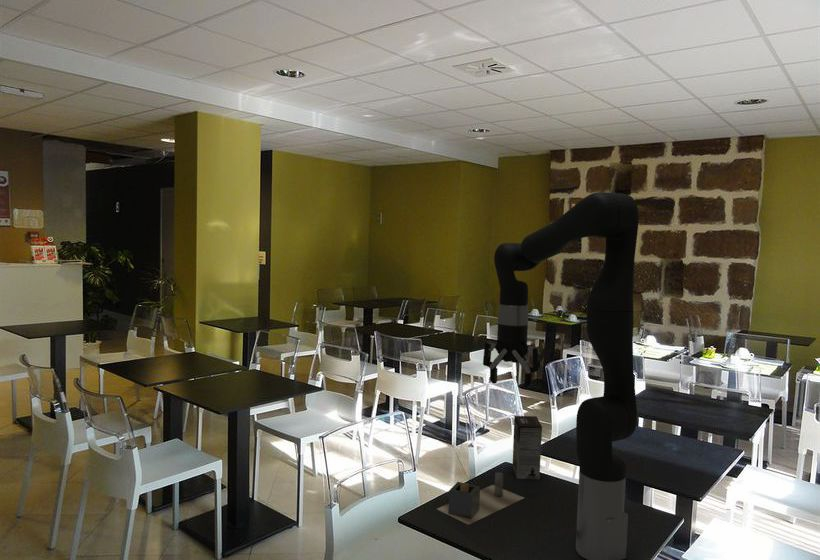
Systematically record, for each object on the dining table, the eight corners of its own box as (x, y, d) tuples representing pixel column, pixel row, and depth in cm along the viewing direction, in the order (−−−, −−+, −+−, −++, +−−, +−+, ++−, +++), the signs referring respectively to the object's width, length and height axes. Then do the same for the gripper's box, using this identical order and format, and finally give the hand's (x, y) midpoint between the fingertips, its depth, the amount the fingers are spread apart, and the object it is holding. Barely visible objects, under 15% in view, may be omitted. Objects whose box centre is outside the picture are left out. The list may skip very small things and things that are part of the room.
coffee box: (511, 470, 167) (513, 415, 166) (534, 471, 167) (536, 415, 166) (516, 484, 158) (518, 425, 157) (540, 485, 158) (543, 426, 157)
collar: (479, 509, 140) (480, 486, 139) (471, 519, 135) (472, 495, 134) (457, 503, 142) (457, 481, 142) (448, 513, 137) (449, 490, 137)
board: (492, 490, 154) (493, 460, 153) (524, 503, 147) (525, 472, 146) (436, 515, 140) (437, 482, 139) (468, 531, 132) (469, 496, 132)
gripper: (544, 322, 150) (541, 385, 151) (490, 318, 156) (488, 378, 158) (537, 326, 143) (534, 392, 145) (481, 321, 150) (479, 384, 151)
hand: (510, 385), depth 151 cm, fingers open, 8 cm apart
